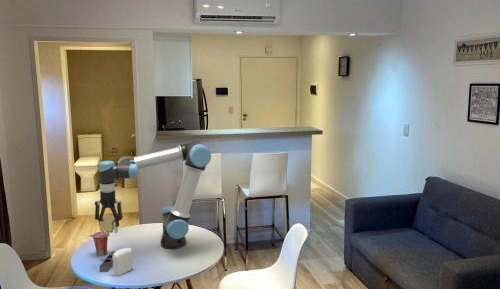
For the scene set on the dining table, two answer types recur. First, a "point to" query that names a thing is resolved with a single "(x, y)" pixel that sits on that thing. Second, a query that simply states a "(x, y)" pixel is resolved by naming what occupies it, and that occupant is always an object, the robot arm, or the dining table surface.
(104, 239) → the cup
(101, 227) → the mottled tan brick
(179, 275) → the dining table surface
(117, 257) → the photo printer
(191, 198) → the robot arm
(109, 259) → the rail
